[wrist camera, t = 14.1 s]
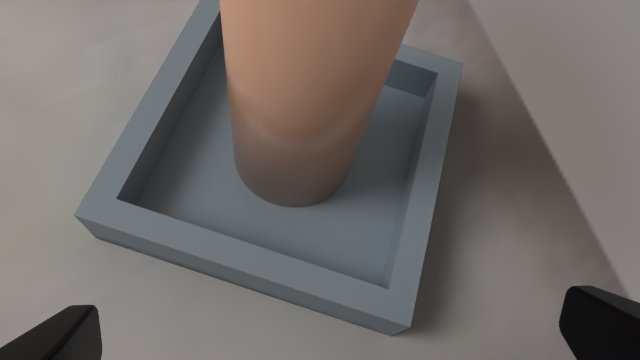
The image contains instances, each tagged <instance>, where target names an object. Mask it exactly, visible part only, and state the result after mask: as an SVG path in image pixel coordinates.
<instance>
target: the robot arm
mask: <svg viewBox="0 0 640 360" xmlns="http://www.w3.org/2000/svg"><path fill="white" fill-rule="evenodd" d="M559 327H560V331H561V334H562V336H563V337H564V339H565V341H566V342H567V344H568V346H569V347H570V349H571V351H572V352H573V354H574V356H575V357H576V359H577V360H640V303H638V302H635V301H632V300H630V299H627V298H624V297H621V296H619V295H616V294H613V293H610V292H607V291H605V290H602V289H599V288H596V287H594V286H588V285H587V286H572V287H570V288H569V289H568V290H567V292H566V295H565V299H564V303H563V307H562V311H561V315H560V319H559ZM101 355H102V339H101V331H100V323H99V314H98V310H97V308H96V307H95V306H94V305H72V306H69V307H67V308H65V309H64V310H62V311H60V312H59V313H57V314H55V315H54V316H52V317H50V318H49V319H47V320H46V321H44V322H42V323H41V324H39V325H37V326H36V327H34V328H32V329H31V330H29V331H27V332H26V333H24V334H23V335H21V336H19V337H18V338H16V339H14V340H13V341H11V342H9V343H8V344H6V345H4V346H3V347H1V348H0V360H101Z"/></svg>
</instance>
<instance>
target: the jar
mask: <svg viewBox="0 0 640 360" xmlns="http://www.w3.org/2000/svg"><path fill="white" fill-rule="evenodd" d="M418 1H419V0H219V2H220V13H221V23H222V34H223V45H224V55H225V66H226V77H227V87H228V98H229V109H230V119H231V130H232V141H233V151H234V161H235V166H236V169H237V172H238V174H239V176H240V178H241V180H242V181H243V183H244V184H245V185H246V186H247V188H248V189H250V190H251V191H252V192H253V193H254V194H255V195H257V196H258V197H259V198H261V199H263V200H265V201H267V202H269V203H272V204H275V205H278V206H283V207H306V206H310V205H314V204H316V203H319V202H321V201H323V200H325V199H327V198H328V197H330V196H331V195H332V194H333V193H334V192H335V191H337V190H338V188H339V187H340V186H341V185H342V183H343V181H344V180H345V178H346V175H347V173H348V171H349V168H350V166H351V163H352V161H353V159H354V156H355V154H356V151H357V149H358V146H359V144H360V142H361V139H362V137H363V134H364V132H365V129H366V127H367V125H368V122H369V120H370V117H371V115H372V113H373V110H374V108H375V105H376V103H377V100H378V98H379V96H380V93H381V91H382V88H383V86H384V83H385V81H386V79H387V76H388V74H389V71H390V69H391V66H392V64H393V62H394V59H395V57H396V54H397V52H398V50H399V47H400V45H401V42H402V40H403V37H404V35H405V33H406V30H407V28H408V25H409V23H410V20H411V18H412V16H413V13H414V11H415V8H416V6H417V3H418Z"/></svg>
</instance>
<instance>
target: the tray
mask: <svg viewBox="0 0 640 360" xmlns="http://www.w3.org/2000/svg"><path fill="white" fill-rule="evenodd" d="M462 68H463V63H460V62H457V61H454V60H451V59H448V58H445V57H442V56H439V55H436V54H433V53H430V52H426V51H423V50H420V49H417V48H414V47H411V46H408V45H405V44H402V43H401V45H400V47H399V50H398V52H397V54H396V57H395V59H394V62H393V64H392V66H391V69H390V71H389V74H388V76H387V79H386V81H385V83H384V86H383V88H382V91H381V93H380V96H379V98H378V100H377V103H376V105H375V108H374V110H373V113H372V115H371V117H370V120H369V122H368V125H367V127H366V129H365V132H364V134H363V137H362V139H361V142H360V144H359V146H358V149H357V151H356V154H355V156H354V159H353V161H352V163H351V166H350V168H349V171H348V173H347V175H346V178H345V180H344V181H343V183H342V185H341V186H340V187H339V188H338V190H337V191H335V192H334V193H333V194H332V195H331V196H330V197H328V198H327V199H325V200H323V201H321V202H319V203H316V204H314V205H310V206H306V207H283V206H278V205H275V204H272V203H269V202H267V201H265V200H263V199H261V198H259V197H258V196H257V195H255V194H254V193H253V192H252V191H251V190H250V189H248V188H247V186H246V185H245V184H244V183H243V181H242V180H241V178H240V176H239V174H238V172H237V169H236V166H235V161H234V151H233V141H232V130H231V119H230V109H229V98H228V87H227V77H226V66H225V55H224V45H223V34H222V23H221V13H220V2H219V0H200V2H199V3H198V5H197V7H196V8H195V10H194V12H193V13H192V15H191V17H190V19H189V20H188V22H187V24H186V25H185V27H184V29H183V30H182V32H181V34H180V36H179V37H178V39H177V41H176V42H175V44H174V46H173V47H172V49H171V51H170V53H169V54H168V56H167V58H166V59H165V61H164V63H163V65H162V66H161V68H160V70H159V71H158V73H157V75H156V76H155V78H154V80H153V82H152V83H151V85H150V87H149V88H148V90H147V92H146V93H145V95H144V97H143V99H142V100H141V102H140V104H139V105H138V107H137V109H136V110H135V112H134V114H133V116H132V117H131V119H130V121H129V122H128V124H127V126H126V127H125V129H124V131H123V133H122V134H121V136H120V138H119V139H118V141H117V143H116V144H115V146H114V148H113V150H112V151H111V153H110V155H109V156H108V158H107V160H106V161H105V163H104V165H103V167H102V168H101V170H100V172H99V173H98V175H97V177H96V178H95V180H94V182H93V184H92V185H91V187H90V189H89V190H88V192H87V194H86V195H85V197H84V199H83V201H82V202H81V204H80V206H79V207H78V209H77V211H76V212H75V214H74V216H75V217H76V218H77V219H78V220H79V221H80V222H81V223H82V224H83V225H84V226H85V227H86V228H87V229H88V230H89V231H90V232H91V233H92V234H93V235H94V236H95V237H96V238H98V239H101V240H104V241H107V242H110V243H113V244H116V245H119V246H122V247H125V248H128V249H131V250H134V251H137V252H140V253H143V254H146V255H149V256H152V257H155V258H158V259H161V260H164V261H167V262H170V263H173V264H176V265H179V266H182V267H185V268H188V269H191V270H194V271H197V272H200V273H203V274H206V275H209V276H212V277H215V278H218V279H221V280H224V281H227V282H230V283H233V284H236V285H239V286H242V287H245V288H248V289H251V290H254V291H257V292H260V293H263V294H266V295H269V296H272V297H275V298H278V299H281V300H284V301H287V302H290V303H293V304H296V305H299V306H302V307H305V308H308V309H311V310H314V311H317V312H320V313H323V314H326V315H329V316H332V317H335V318H338V319H341V320H344V321H347V322H350V323H353V324H356V325H359V326H362V327H365V328H368V329H371V330H374V331H377V332H380V333H383V334H386V335H389V336H392V335H394V334H397V333H399V332H401V331H403V330H405V329H408V328H410V327H411V322H412V317H413V312H414V307H415V302H416V297H417V292H418V287H419V282H420V277H421V272H422V267H423V262H424V257H425V252H426V248H427V243H428V238H429V233H430V228H431V223H432V218H433V213H434V208H435V203H436V198H437V193H438V188H439V183H440V178H441V173H442V168H443V163H444V158H445V153H446V148H447V143H448V138H449V133H450V128H451V123H452V118H453V113H454V108H455V103H456V98H457V93H458V88H459V83H460V78H461V73H462Z"/></svg>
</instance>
